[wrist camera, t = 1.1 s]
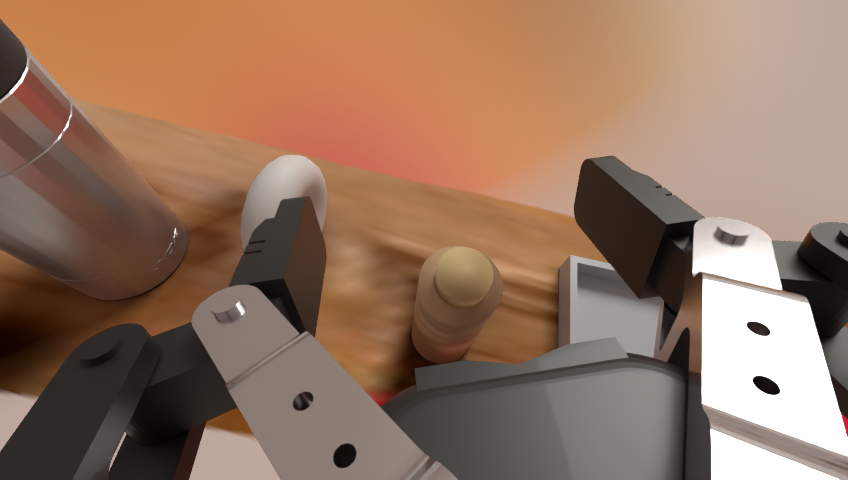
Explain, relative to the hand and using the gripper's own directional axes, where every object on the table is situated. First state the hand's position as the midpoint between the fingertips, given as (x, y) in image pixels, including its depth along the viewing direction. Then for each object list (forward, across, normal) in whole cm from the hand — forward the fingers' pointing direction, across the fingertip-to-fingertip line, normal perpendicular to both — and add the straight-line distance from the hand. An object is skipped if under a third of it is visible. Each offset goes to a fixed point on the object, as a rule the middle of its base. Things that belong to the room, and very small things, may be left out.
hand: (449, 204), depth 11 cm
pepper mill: (+11, 0, +19) cm, 22 cm away
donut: (+19, +11, +14) cm, 26 cm away
